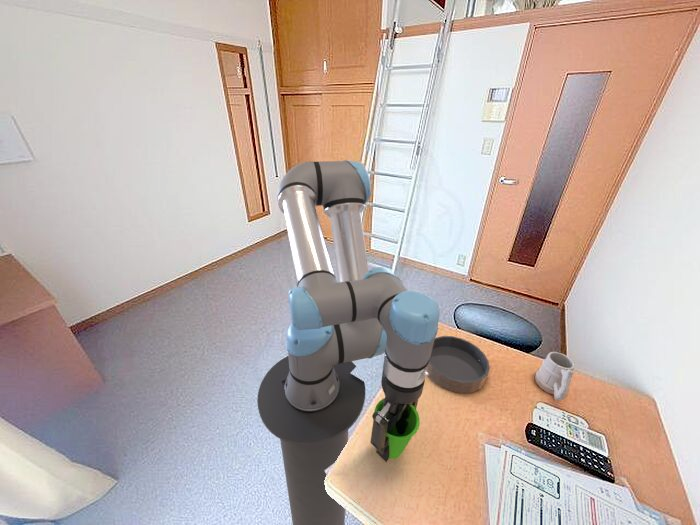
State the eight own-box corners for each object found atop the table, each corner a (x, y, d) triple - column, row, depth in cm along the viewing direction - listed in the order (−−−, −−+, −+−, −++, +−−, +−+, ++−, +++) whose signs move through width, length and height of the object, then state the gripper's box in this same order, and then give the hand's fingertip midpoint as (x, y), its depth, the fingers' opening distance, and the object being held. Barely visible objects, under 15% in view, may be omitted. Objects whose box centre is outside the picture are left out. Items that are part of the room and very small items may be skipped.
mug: (560, 377, 85) (576, 348, 80) (572, 412, 75) (592, 381, 70) (531, 370, 87) (545, 341, 82) (540, 403, 78) (556, 372, 72)
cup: (361, 442, 63) (364, 411, 57) (390, 418, 68) (396, 388, 62) (391, 480, 57) (397, 449, 51) (420, 450, 62) (429, 419, 56)
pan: (413, 372, 86) (415, 361, 84) (436, 338, 99) (438, 328, 97) (476, 405, 76) (480, 394, 74) (491, 363, 90) (495, 352, 88)
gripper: (389, 421, 43) (377, 496, 54) (447, 356, 54) (427, 428, 66) (353, 390, 47) (349, 465, 58) (414, 336, 59) (400, 407, 70)
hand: (390, 445), depth 62 cm, fingers closed on cup, 5 cm apart
